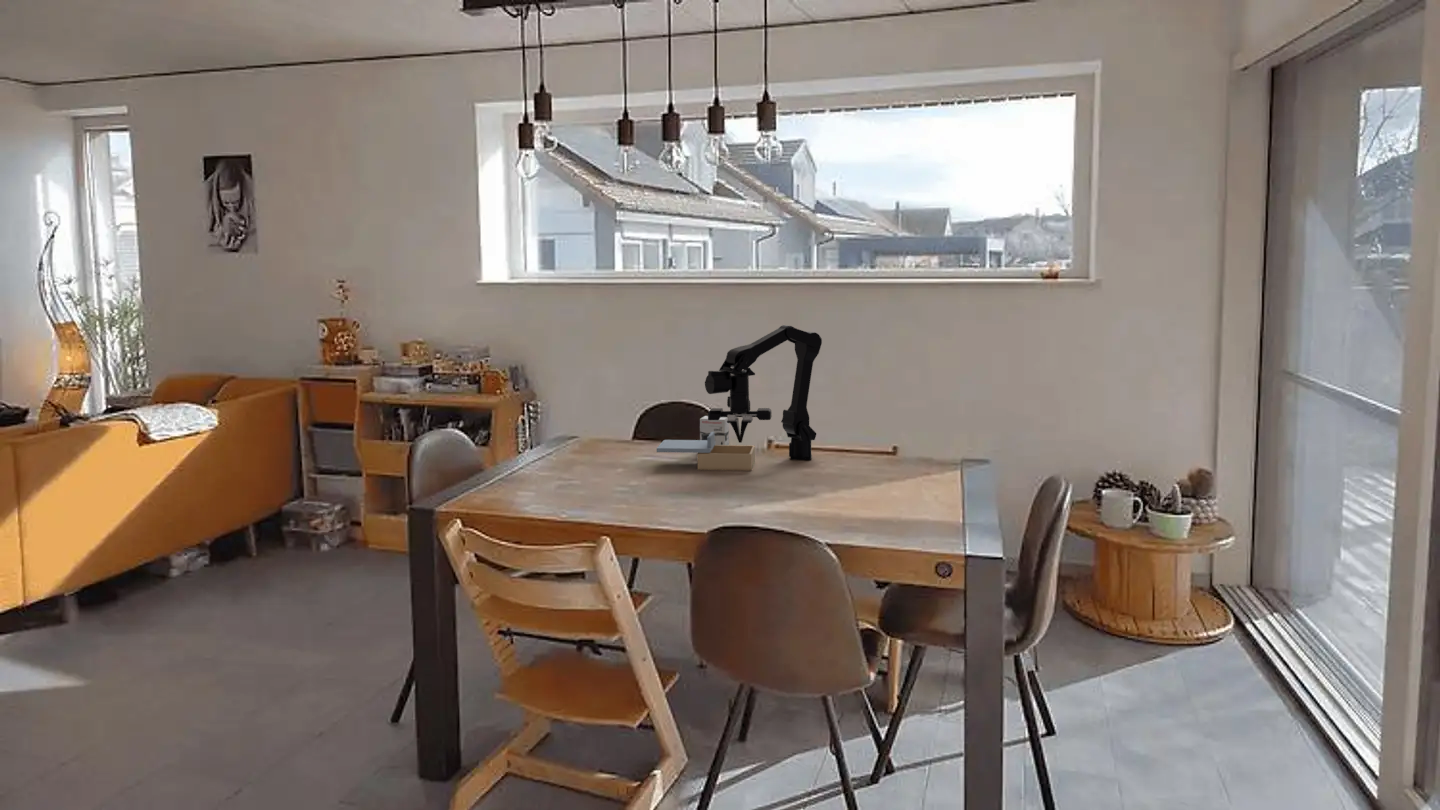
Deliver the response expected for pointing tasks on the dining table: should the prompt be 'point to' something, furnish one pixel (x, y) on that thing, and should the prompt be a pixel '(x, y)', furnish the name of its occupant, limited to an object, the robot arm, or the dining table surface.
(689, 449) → the lid
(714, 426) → the ink box
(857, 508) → the dining table surface
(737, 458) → the tan shallow open box
